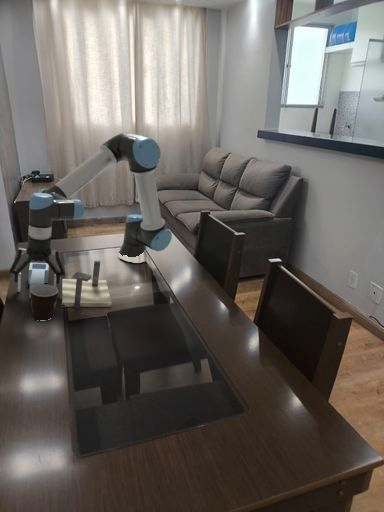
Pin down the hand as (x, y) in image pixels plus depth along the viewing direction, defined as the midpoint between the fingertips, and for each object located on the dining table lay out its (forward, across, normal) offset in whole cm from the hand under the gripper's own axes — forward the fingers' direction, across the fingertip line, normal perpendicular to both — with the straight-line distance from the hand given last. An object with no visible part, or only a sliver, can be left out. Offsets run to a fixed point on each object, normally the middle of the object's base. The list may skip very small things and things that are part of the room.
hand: (37, 290), depth 137 cm
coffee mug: (0, +4, -18) cm, 18 cm away
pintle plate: (0, +18, -3) cm, 18 cm away
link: (0, 0, +4) cm, 4 cm away
